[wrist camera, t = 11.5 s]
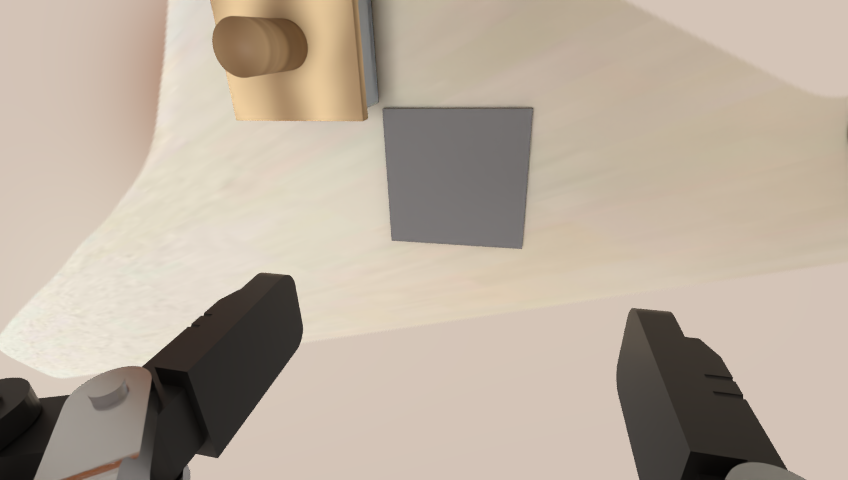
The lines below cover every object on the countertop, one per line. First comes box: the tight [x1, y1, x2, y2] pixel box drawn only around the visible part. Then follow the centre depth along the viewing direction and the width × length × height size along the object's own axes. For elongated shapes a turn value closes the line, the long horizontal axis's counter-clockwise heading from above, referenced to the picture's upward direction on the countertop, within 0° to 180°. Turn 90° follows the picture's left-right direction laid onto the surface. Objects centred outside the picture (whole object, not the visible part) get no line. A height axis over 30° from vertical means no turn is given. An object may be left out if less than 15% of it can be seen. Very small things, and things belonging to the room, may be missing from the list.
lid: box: [210, 0, 368, 121], centre depth 29 cm, size 11×11×7 cm
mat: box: [382, 108, 533, 249], centre depth 40 cm, size 13×13×1 cm
